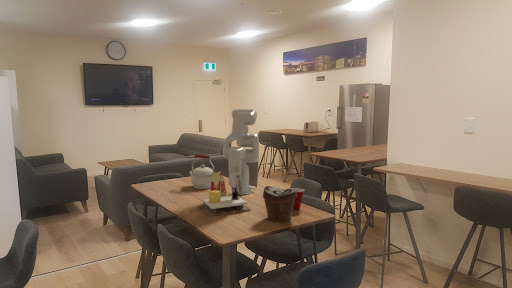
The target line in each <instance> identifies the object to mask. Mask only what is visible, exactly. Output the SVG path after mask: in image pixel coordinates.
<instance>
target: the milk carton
mask: <svg viewBox="0 0 512 288" xmlns="http://www.w3.org/2000/svg"><path fill="white" fill-rule="evenodd" d="M213 190H218V191H221V197H222V196H228V194H227V187H226V182H225V178H224V174H223V173H222V171H221V170H220V171H217V172H214V173H212V178H211V188H210V191H213Z"/></svg>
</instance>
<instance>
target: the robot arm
mask: <svg viewBox="0 0 512 288" xmlns="http://www.w3.org/2000/svg"><path fill="white" fill-rule="evenodd" d="M231 116H232V127H231V133H230V134H228V135H227V137H226V138H225V140H224V141H223V147H222V156H223V158H224V159H226V160H228V174H229V175H228V184H229V186H230V188H231V195H232V198H233V199H235V198H238V197H239V195H249V194H252V190H255V189H256V186H252V185H251V186H250V168H249V166H248V164H247V163H252V164H253V163H254V164H255V163H258V161H259V160H260V139H259V135H257V134H256V133H249V126H254V125H255V124H256V121H257V117H258V113H257V110H256V109H252V108H251V109H250V108H248V109H247V108H246V109H245V108H244V109H243V108H240V109H239V108H238V109H237V108H236V109H233V110H232V112H231ZM235 141H236V145H237V146H230V144H232V143H233V142H235ZM249 148H250V149H249ZM251 148H252V149H251Z"/></svg>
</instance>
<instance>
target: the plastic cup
mask: <svg viewBox="0 0 512 288" xmlns="http://www.w3.org/2000/svg"><path fill="white" fill-rule="evenodd" d="M287 189H291V190H295V191H296V193H297V196H298V198H297V199H295V201H294V206H293V210H299V209H300V208H301V206H302V200H303V195H304V193H305V189H303V188H298V187H288V188H287Z"/></svg>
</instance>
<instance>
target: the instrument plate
mask: <svg viewBox="0 0 512 288" xmlns="http://www.w3.org/2000/svg"><path fill="white" fill-rule="evenodd" d="M201 200H202V203H203V202H204V203H205V204H206V205H208V206H209V207H210V208H211V209H216V208H223V207H230V206H237V205H245V206H246V205H247V204H248V203H247V202H248V201H246V200H244V199H243V198H241V197H239V196H238V198H235V199H233V198H232V194H231V195H227V196H222V197H221V191H218V190H213V191H211V190H210V191H208V198H202V199H201Z"/></svg>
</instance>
